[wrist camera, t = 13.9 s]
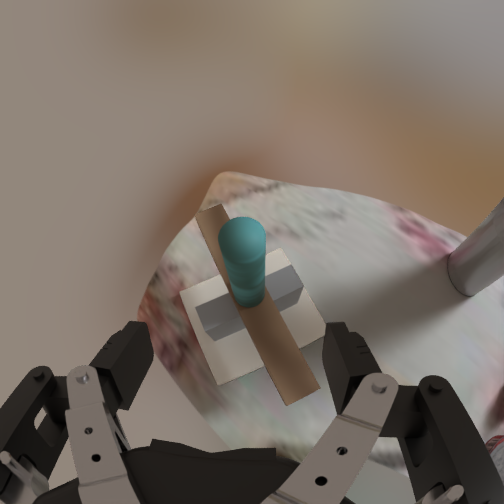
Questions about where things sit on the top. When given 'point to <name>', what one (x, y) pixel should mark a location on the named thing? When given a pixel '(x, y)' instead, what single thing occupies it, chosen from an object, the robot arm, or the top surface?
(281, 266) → the ridge stand
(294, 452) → the top surface
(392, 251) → the top surface
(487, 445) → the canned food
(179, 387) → the top surface
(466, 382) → the top surface
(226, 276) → the teal peg on base
